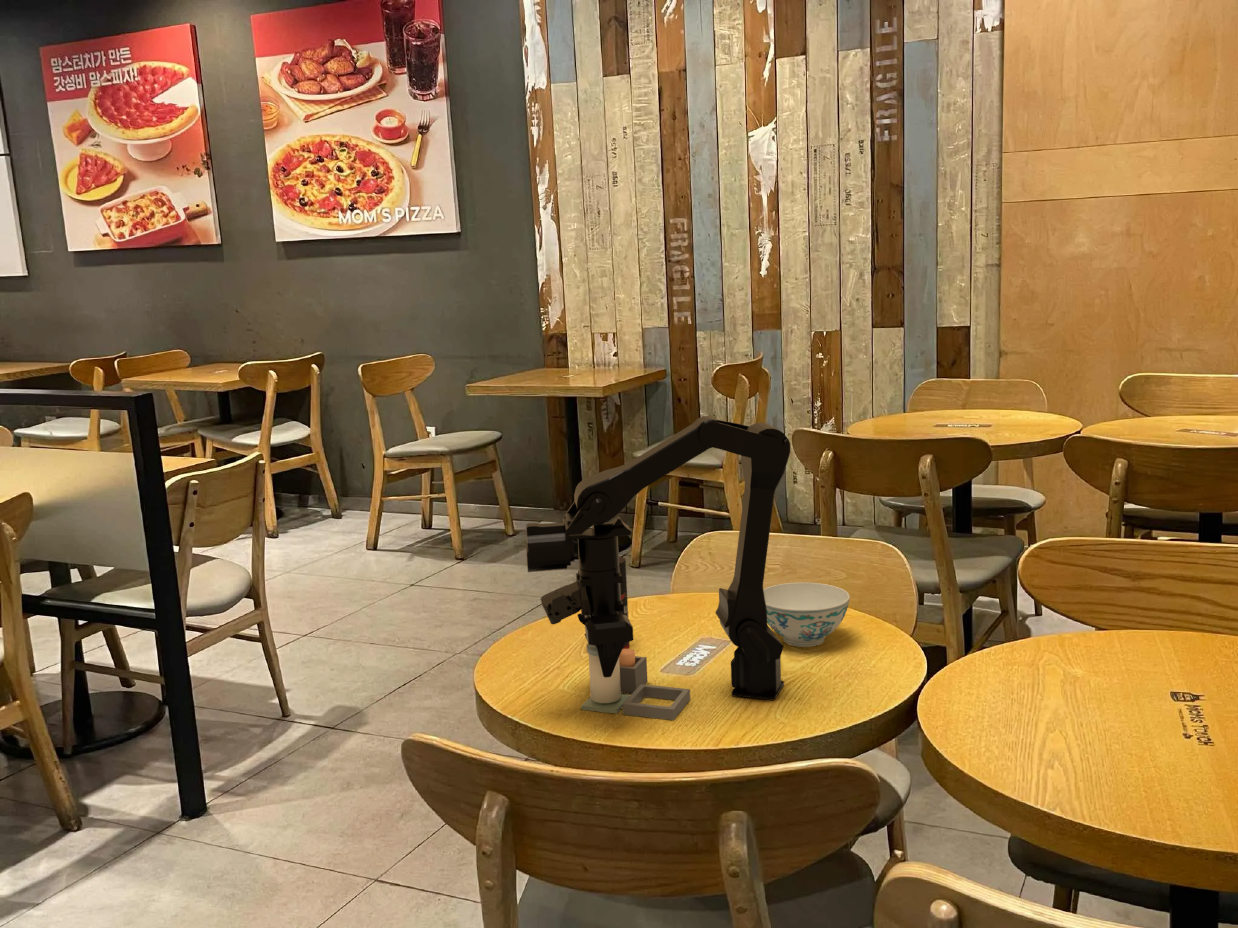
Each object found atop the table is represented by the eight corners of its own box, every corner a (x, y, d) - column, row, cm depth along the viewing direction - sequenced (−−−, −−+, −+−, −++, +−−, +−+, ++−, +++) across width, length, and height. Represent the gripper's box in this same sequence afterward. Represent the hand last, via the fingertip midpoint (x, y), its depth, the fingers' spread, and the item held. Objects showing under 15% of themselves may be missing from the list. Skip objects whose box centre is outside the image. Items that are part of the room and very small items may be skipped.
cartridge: (608, 687, 163) (606, 636, 162) (629, 696, 159) (626, 644, 158) (582, 696, 160) (579, 644, 159) (603, 706, 156) (600, 653, 155)
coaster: (630, 698, 162) (630, 694, 161) (616, 713, 157) (616, 709, 156) (595, 695, 164) (595, 691, 163) (581, 709, 158) (581, 705, 158)
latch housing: (647, 681, 168) (646, 657, 167) (636, 694, 163) (635, 668, 162) (617, 678, 169) (615, 654, 169) (604, 691, 165) (603, 665, 164)
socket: (690, 699, 160) (689, 688, 160) (673, 720, 153) (673, 709, 153) (641, 694, 163) (640, 683, 163) (623, 714, 156) (622, 703, 156)
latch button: (638, 674, 167) (637, 649, 166) (631, 681, 164) (630, 656, 163) (620, 672, 168) (619, 647, 167) (613, 679, 165) (611, 654, 164)
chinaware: (756, 655, 177) (755, 609, 175) (760, 624, 191) (759, 582, 190) (851, 656, 174) (851, 610, 173) (848, 625, 189) (847, 582, 187)
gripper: (537, 554, 164) (543, 653, 167) (548, 590, 146) (555, 700, 149) (611, 548, 166) (616, 646, 169) (631, 582, 148) (636, 692, 150)
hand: (604, 670), depth 159 cm, fingers open, 5 cm apart
